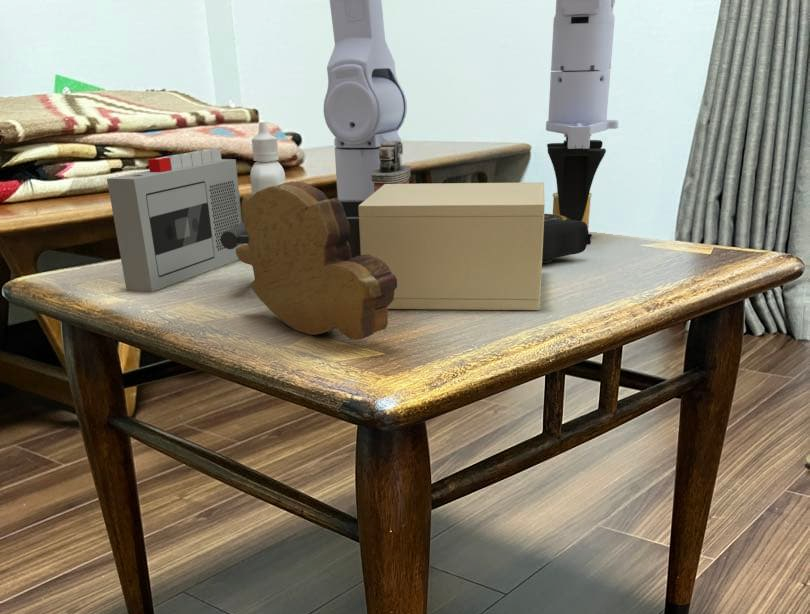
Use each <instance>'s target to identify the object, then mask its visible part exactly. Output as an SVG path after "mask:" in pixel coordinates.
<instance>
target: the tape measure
mask: <svg viewBox="0 0 810 614" xmlns="http://www.w3.org/2000/svg"><path fill="white" fill-rule="evenodd" d="M592 236H593V233H589V227H587V224H586V223H585V222H583V221H576V220H571V219H569V218H567V217H565V216H561V215H555V214H553V213H544V230H543V250H542V263H546V264H549V263H551V262H552V261H553V260H554V259H557V258H562V257H566V256H572V255H578V254H581V253H583V252H584V251H585V250H586V249H587V246H590V245H591V243H592V239H591V238H592Z"/></svg>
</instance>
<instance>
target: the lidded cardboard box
mask: <svg viewBox="0 0 810 614" xmlns="http://www.w3.org/2000/svg"><path fill="white" fill-rule="evenodd" d="M545 202H546V200H545V183H544V182H457V183H456V182H453V183H452V182H451V183H448V182H447V183H445V182H443V183H440V182H439V183H409V184H384V185H383V186H382V187H381V188H379V189H378V190H377V191H376V192H375V193H373V194H372V195H371V196H370V197H368V198H367V199H366V200H365V201H364V202H362V203H361V204H360V205H359V206H358V209H359V229H360V250H361V255H371V256H373V257H377V258H379V259H380V260H382V261H383V262H384V263H386V264H387V265H388V267H389V268H390V270H391V272H392V274H394V275H395V277H396V279H397V288H396V289H395V292H394V299H393V301H392V303H390V304H389V305H388V308H387V309H388V310H451V311H452V310H455V311H456V310H460V311H461V310H462V311H465V310H466V311H467V310H468V311H469V310H471V311H473V310H474V311H540V309H541V291H542V290H541V288H542V287H541V286H542V270H543V269H542V268H543V262H542V250H543V230H544V214H545V208H546V203H545Z"/></svg>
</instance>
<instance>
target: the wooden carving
mask: <svg viewBox="0 0 810 614" xmlns="http://www.w3.org/2000/svg"><path fill="white" fill-rule="evenodd" d="M241 214H242V222H244V225H245V228H246V230H247V233H248V236H249V244H245V245H243V246H240V247H238V248H237V249H236V255H237V257H238V258H239V261H240V262H241V263H244V264H246V265H251V267H252V272H253V277H254V279H253V281H252V283H251V285H250V287H251V289H252V291H253V293H254V294H255V295H256V297H257V298H258V299H259V300H260V301H261V302H262V303H263V304H264V306H266V307H267V308H268V309H269V311H271V313H273V314H274V316H275V317H277V318H278V319H279V320H280V321H281V322H282V323H284V324H285V325H286V326H289V327H290V328H291V329H293V330H295V331H297V332H300V333H303V334H307V335H310V336H311V335H312V336H316V335H321V334H324V333H327V332H329V331H331V330H334V329H336V330H338V331H339V332H340V333H341V334H343V335H344V336H345V337H347V338H348V339H353V340H363V339H366V338H368V337H370V336H372V335H374V333H377V332H380V331H383V330H385V329H386V328H387V327H388V324H389V319H388V317H389V313H388V311H389V309H387V308H388V305H389V304H390V303H392V301H393V299H394V292H395V289H396V288H397V279H396V277H395V275H394V274H392V272H391V270H390V268H389V267H388V265H387V264H386V263H384V262H383V261H382V260H380V259H379V258H377V257H373V256H371V255H360V256H356V257H354V258H352V255H351V252H350V250H351V248H350V245H349V243H348V241H347V240H348V239H349V237H350V227H349V223H348V220H347V217H346V214H345V211H344V209H343V206H342V204H341V202H340V201H339V199H338V197H333V198H328V196H326V194H325V193H324V192H323V191H322V190H320V189H318V188H317V187H315V186H312V185H311V184H309V183H306V182H304V181H288V182H286V183H283V184H280V185H276V186H271V187H267V188H265V189H262V190H260V191H258V192H256V193H255V194H252V193H247V194H243V195H242V200H241Z"/></svg>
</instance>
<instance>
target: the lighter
mask: <svg viewBox="0 0 810 614" xmlns="http://www.w3.org/2000/svg"><path fill="white" fill-rule="evenodd" d="M403 147H404V146H403V142H402V140H401V141H391V142H381V145H380V148H379V160H380V168H378V169H376V170H374V171H372V173H371V176H372V182H374V193H375V192H376V191H377V190H378V189H379V188H381V187H382V186H383V185H384V184H410V177H411V175H412V174H411V173H412V172H411V167H412V166H411V165H405V164H402V165H400V155H401V156H402V155H403V154H404V152H403V151H404V148H403Z"/></svg>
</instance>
